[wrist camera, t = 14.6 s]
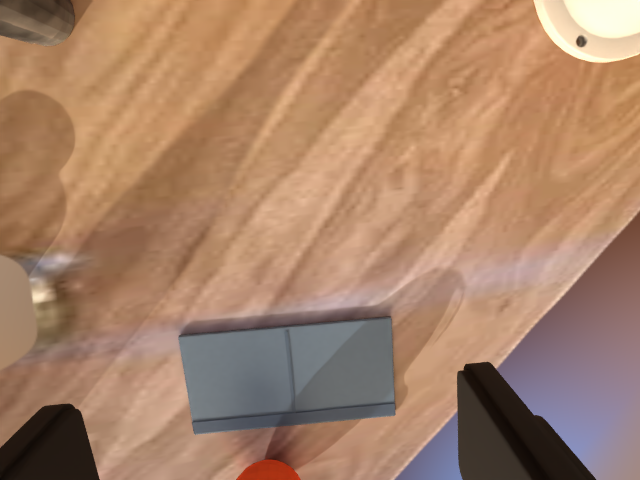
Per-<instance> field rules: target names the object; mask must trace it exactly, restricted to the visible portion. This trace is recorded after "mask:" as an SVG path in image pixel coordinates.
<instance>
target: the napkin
mask: <svg viewBox="0 0 640 480" xmlns="http://www.w3.org/2000/svg"><path fill="white" fill-rule="evenodd" d="M178 338H179V344H180V350H181V356H182V362H183V368H184V374H185V380H186V386H187V392H188V398H189V404H190V410H191V416H192V425H193V431H194V434H195V435H196V434H206V433H217V432H228V431H238V430H249V429H259V428H270V427H281V426H291V425H302V424H312V423H323V422H334V421H344V420H355V419H365V418H376V417H386V416H395V399H394V372H393V345H392V319H391V317H381V318H369V319H358V320H346V321H335V322H324V323H312V324H301V325H290V326H278V327H267V328H256V329H244V330H233V331H221V332H210V333H199V334H187V335H179V337H178Z"/></svg>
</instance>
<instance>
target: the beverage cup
mask: <svg viewBox="0 0 640 480" xmlns="http://www.w3.org/2000/svg"><path fill="white" fill-rule="evenodd" d="M74 18H75V15H74V10H73V6H72V4H71V2H70V0H0V35H1V36H5V37H8V38H12V39H16V40H20V41H24V42H28V43H32V44H33V43H35V44H39V45H43V46H54V45H57V44H59V43H61V42H63V41H64V40H65V39H66V38H67V37H68V36H69V35H70V33H71V31H72V29H73V27H74Z"/></svg>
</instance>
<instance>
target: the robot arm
mask: <svg viewBox="0 0 640 480" xmlns="http://www.w3.org/2000/svg"><path fill="white" fill-rule="evenodd" d="M534 3H535V7H536V11H537V14H538V17H539V19H540V22H541V24H542V26H543V28H544V30H545V31H546V33H547V34H548V35H549V36H550V38H551V39H552V40H553V42H554V43H555V44H557V45H558V46H559V47H560V48H561V49H563V50H564V51H565V52H567V53H569V54H570V55H572V56H574V57H576V58H578V59H582V60H586V61H590V62H612V61H618V60H622V59H626V58H629V57H632V56H635V55H638V54H640V0H534ZM457 398H458V454H459V455H458V459H459V468H460V473H461V476H462V479H463V480H596V479H595V477H594V476H593V475H592V474H591V473H590V472H589V471H588V469H587V468H586V467H585V466H584V465H583V463H582V462H581V461H580V460H579V459H578V458H577V456H576V455H575V454H574V453H573V452H572V451H571V449H570V448H569V447H568V446H567V445H566V444H565V442H564V441H563V440H562V439H561V438H560V436H559V435H558V434H557V433H556V432H555V431H554V429H553V428H552V427H551V426H550V425H549V424H548V422H547V421H546V420H545V419H543V418H542V417H541V416H537V415H533V414H532V412H531V411H530V410H529V409H528V408H527V406H526V405H525V404H524V403H523V401H522V400H521V399H520V398H519V397H518V395H517V394H516V393H515V392H514V390H513V389H512V388H511V387H510V386H509V384H508V383H507V382H506V381H505V380H504V378H503V377H502V376H501V375H500V374H499V372H498V371H497V370H496V369H495V367H494V366H493V365H492V364H491V363H490V362H482V363H472V364H466V365H465V366H464V370H463V371H458V373H457ZM0 480H100V479H99V476H98V472H97V468H96V465H95V461H94V457H93V454H92V450H91V446H90V443H89V439H88V435H87V432H86V428H85V425H84V421H83V417H82V414H81V412H80V411H79V410H78V409H75V407H74V406H73V405H72V404H59V405H49V406H44V407H42V408H41V409H40V410H39V411H38V412H37V413H36V414H35V415H33V416H32V417H31V418H30V419H29V420H28V421H27V422H26V423H25V424H24V425H23V426H22V427H21V428H20V429H19V430H18V431H17V432H16V433H15V434H14V435H13V436H12V437H11V438H10V439H9V440H8V441H7V442H6V443H5V444H4V445H3V446H2V447H1V448H0Z"/></svg>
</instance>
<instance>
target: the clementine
mask: <svg viewBox="0 0 640 480" xmlns="http://www.w3.org/2000/svg"><path fill="white" fill-rule="evenodd" d="M236 480H300V478H299V476H298V474H297V473H296V472H295V471H294V470H293V468H291V467H290V466H288V465H287V464H285V463H283V462H281V461H278V460H272V459H269V460H262V461H259V462H256V463H254V464H252V465H250V466H249V467H247V468H246V469H245V470H244V471H243V472H242V473H241V475H240V476H239V477H238V478H237V479H236Z"/></svg>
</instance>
